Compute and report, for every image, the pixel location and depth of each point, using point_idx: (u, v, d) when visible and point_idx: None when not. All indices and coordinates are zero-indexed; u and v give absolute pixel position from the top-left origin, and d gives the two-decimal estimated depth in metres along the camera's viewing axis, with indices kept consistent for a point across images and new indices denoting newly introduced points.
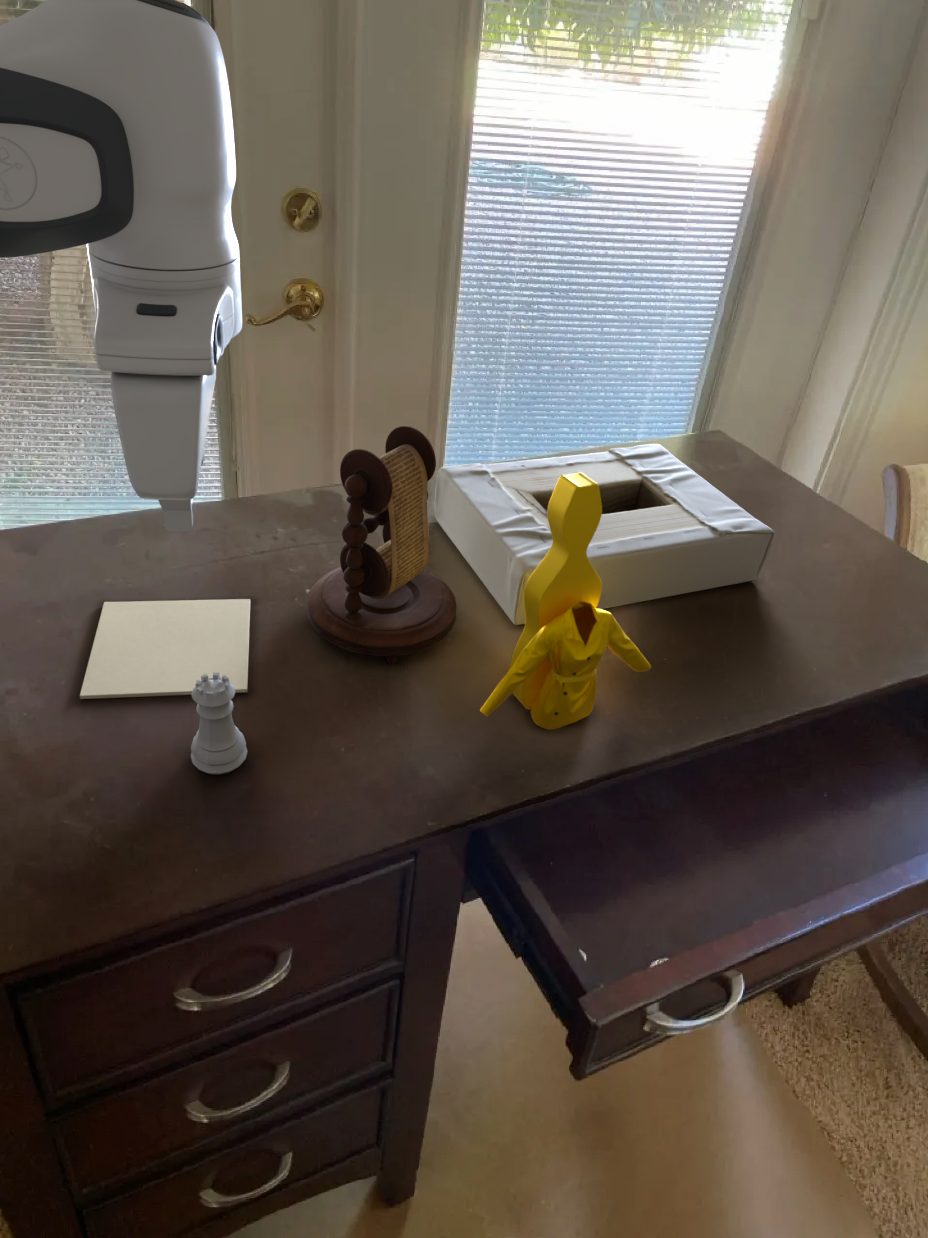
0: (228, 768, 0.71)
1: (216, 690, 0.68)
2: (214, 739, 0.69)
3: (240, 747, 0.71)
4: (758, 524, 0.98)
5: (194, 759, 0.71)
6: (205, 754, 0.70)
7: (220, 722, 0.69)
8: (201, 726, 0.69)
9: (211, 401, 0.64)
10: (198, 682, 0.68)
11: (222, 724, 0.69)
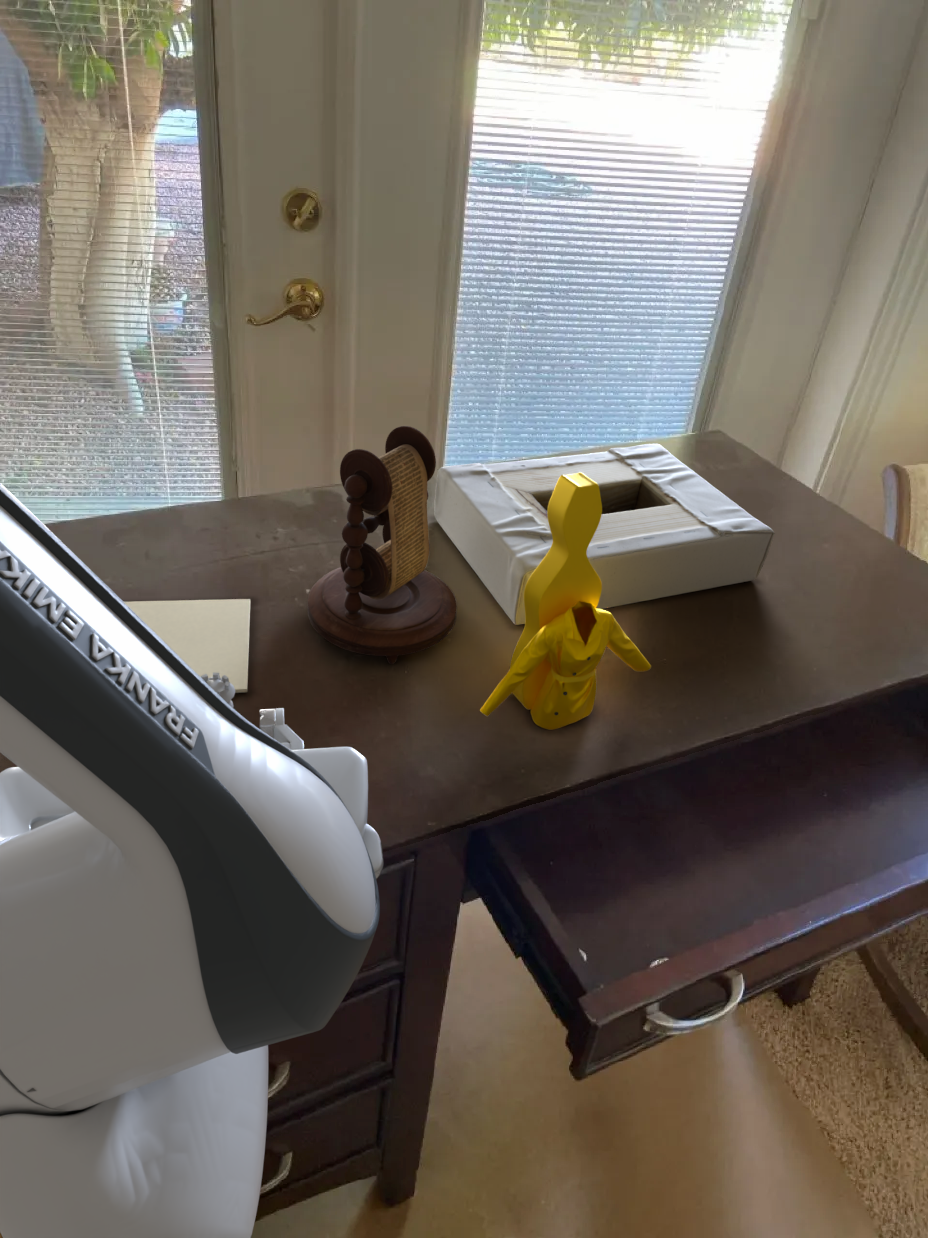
0: None
1: (216, 690, 0.68)
2: None
3: None
4: (758, 524, 0.99)
5: None
6: None
7: None
8: None
9: None
10: None
11: None
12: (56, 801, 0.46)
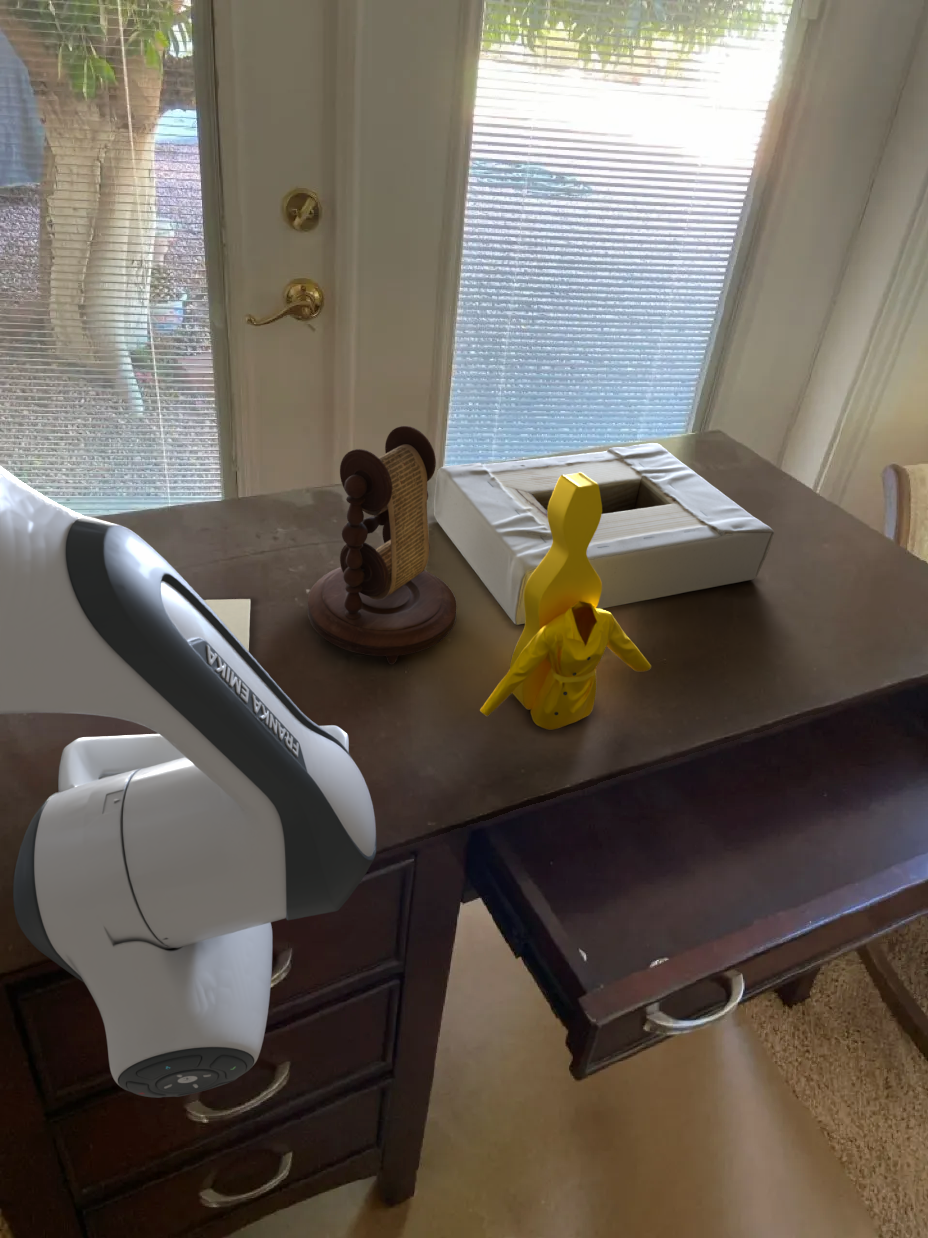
0: None
1: None
2: None
3: None
4: (758, 523, 0.99)
5: None
6: None
7: None
8: None
9: None
10: None
11: None
12: (116, 762, 0.62)
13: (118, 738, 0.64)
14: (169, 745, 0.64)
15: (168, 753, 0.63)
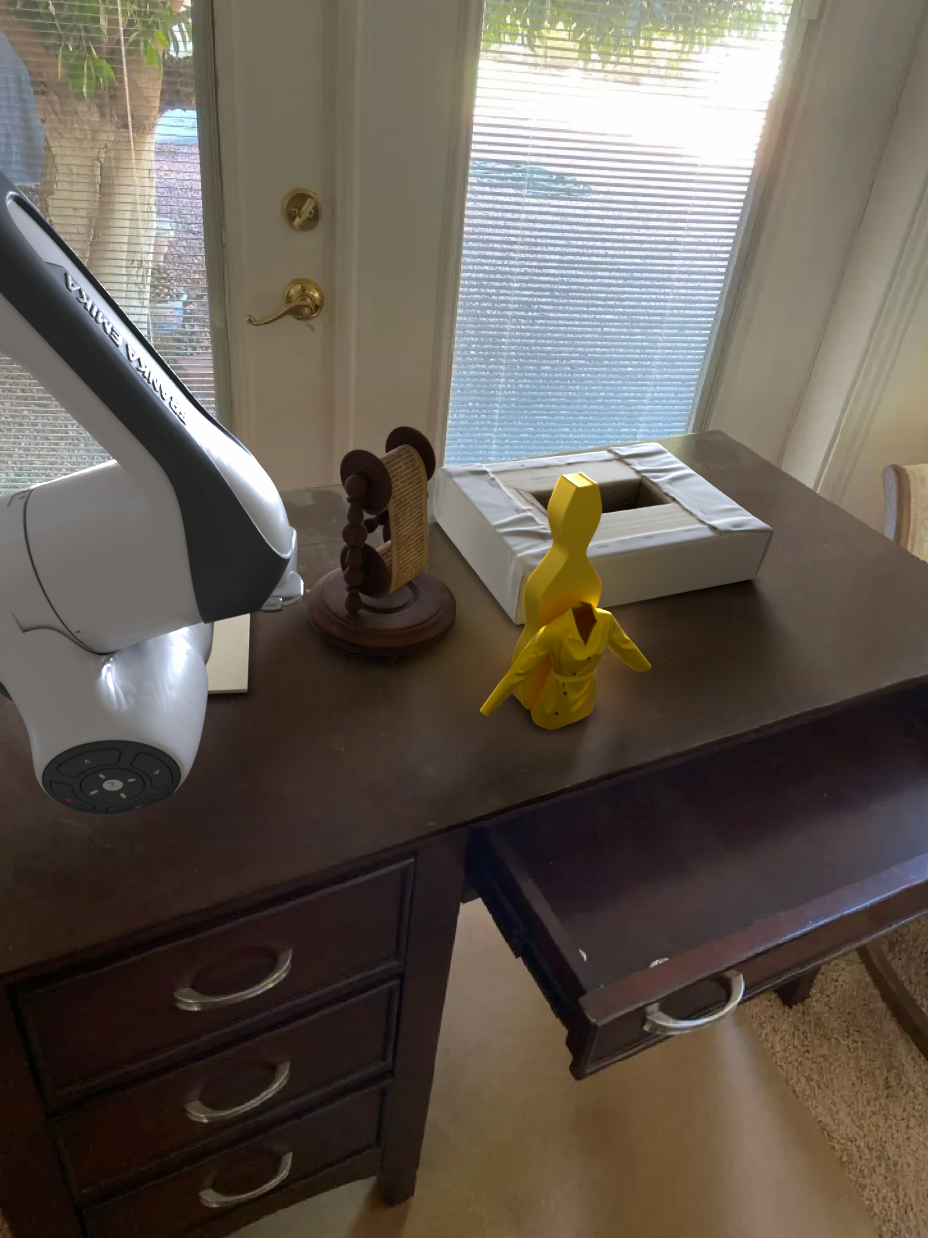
0: None
1: None
2: None
3: None
4: (758, 523, 0.99)
5: None
6: None
7: None
8: None
9: None
10: None
11: None
12: None
13: None
14: None
15: None
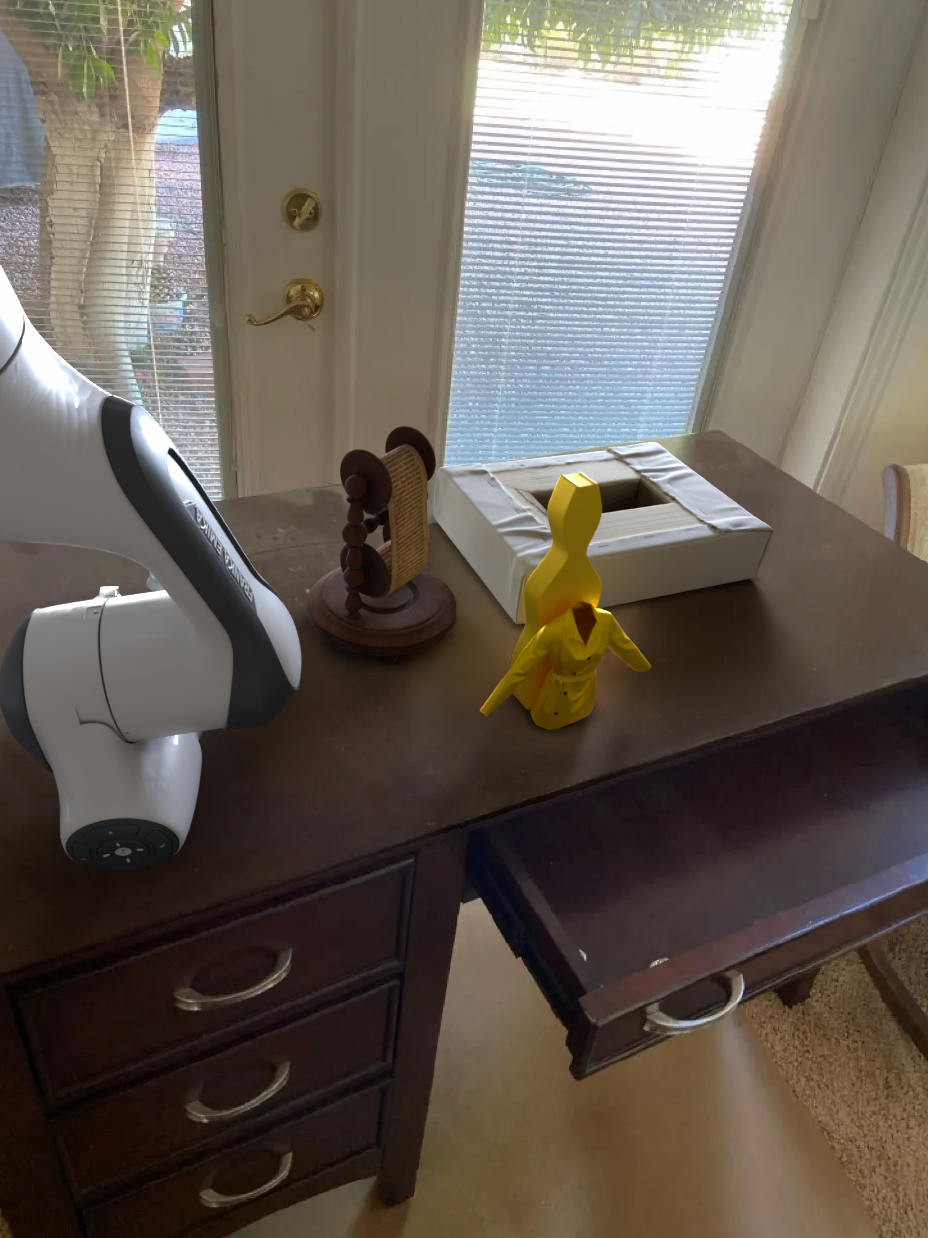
0: None
1: None
2: None
3: None
4: (757, 522, 0.99)
5: None
6: None
7: None
8: None
9: None
10: None
11: None
12: None
13: None
14: None
15: None
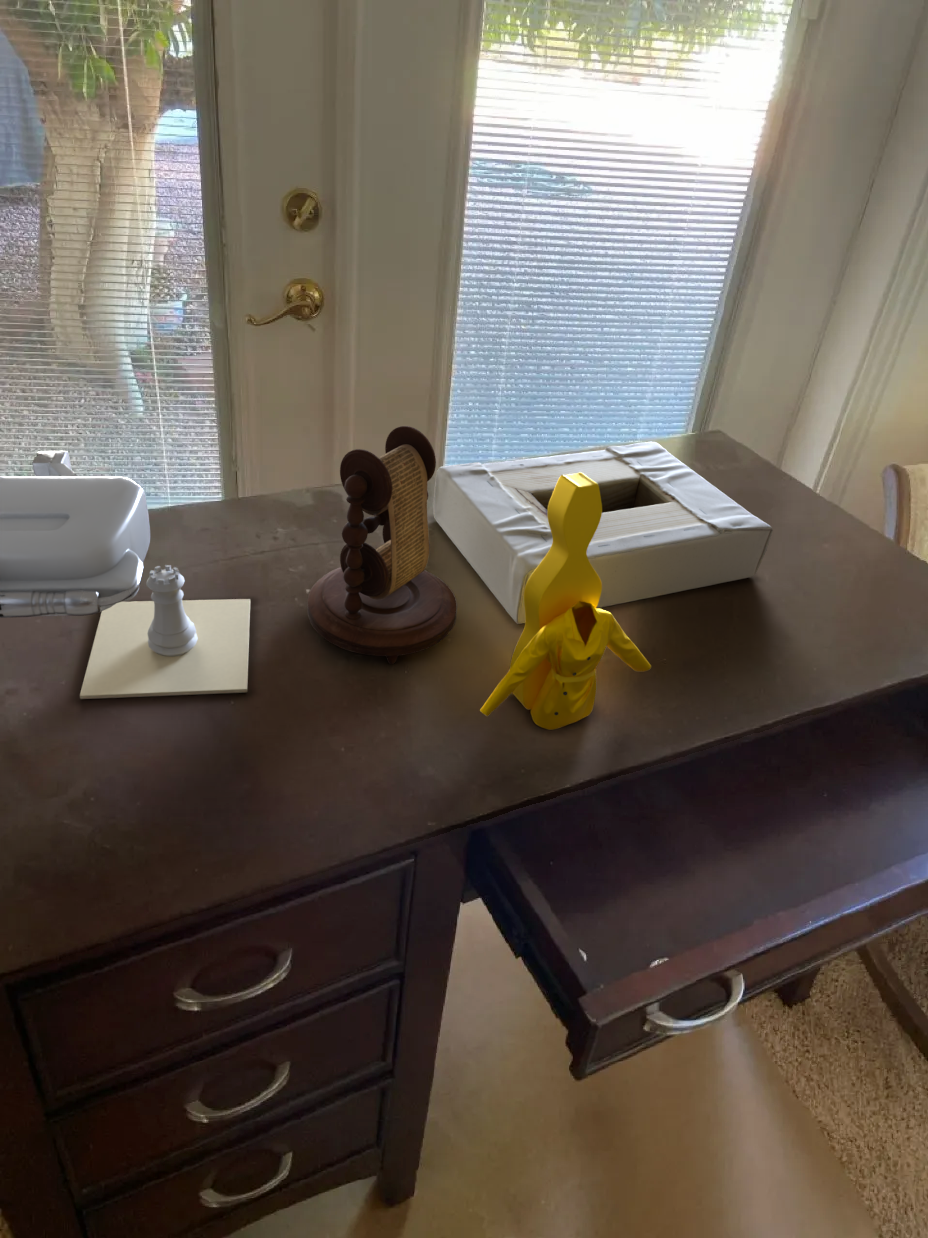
0: (179, 651, 0.81)
1: (168, 578, 0.78)
2: (166, 624, 0.80)
3: (190, 633, 0.82)
4: (757, 521, 0.99)
5: (150, 643, 0.82)
6: (159, 637, 0.80)
7: (171, 608, 0.79)
8: (155, 612, 0.80)
9: None
10: (152, 571, 0.78)
11: (173, 610, 0.80)
12: None
13: None
14: None
15: None
